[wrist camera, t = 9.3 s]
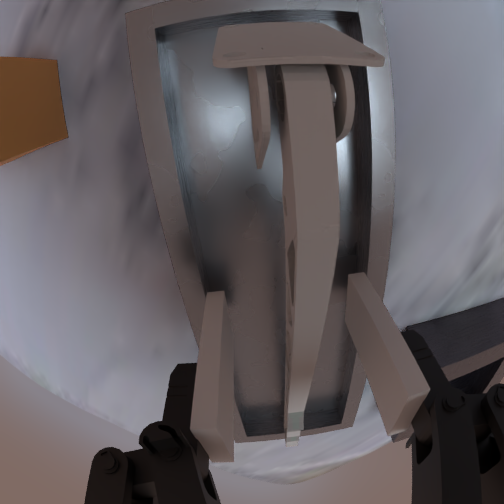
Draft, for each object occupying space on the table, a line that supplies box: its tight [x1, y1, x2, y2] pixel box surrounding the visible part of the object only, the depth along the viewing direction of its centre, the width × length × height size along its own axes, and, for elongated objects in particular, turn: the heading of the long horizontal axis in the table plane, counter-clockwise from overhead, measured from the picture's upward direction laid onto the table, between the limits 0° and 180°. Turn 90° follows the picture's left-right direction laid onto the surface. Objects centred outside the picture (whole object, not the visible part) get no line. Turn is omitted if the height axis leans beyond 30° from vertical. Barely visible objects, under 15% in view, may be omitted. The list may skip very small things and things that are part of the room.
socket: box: [391, 298, 504, 442], centre depth 18 cm, size 10×10×4 cm
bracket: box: [212, 22, 385, 447], centre depth 12 cm, size 3×21×10 cm, turn 6°
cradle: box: [125, 0, 395, 443], centre depth 14 cm, size 26×9×2 cm, turn 7°
